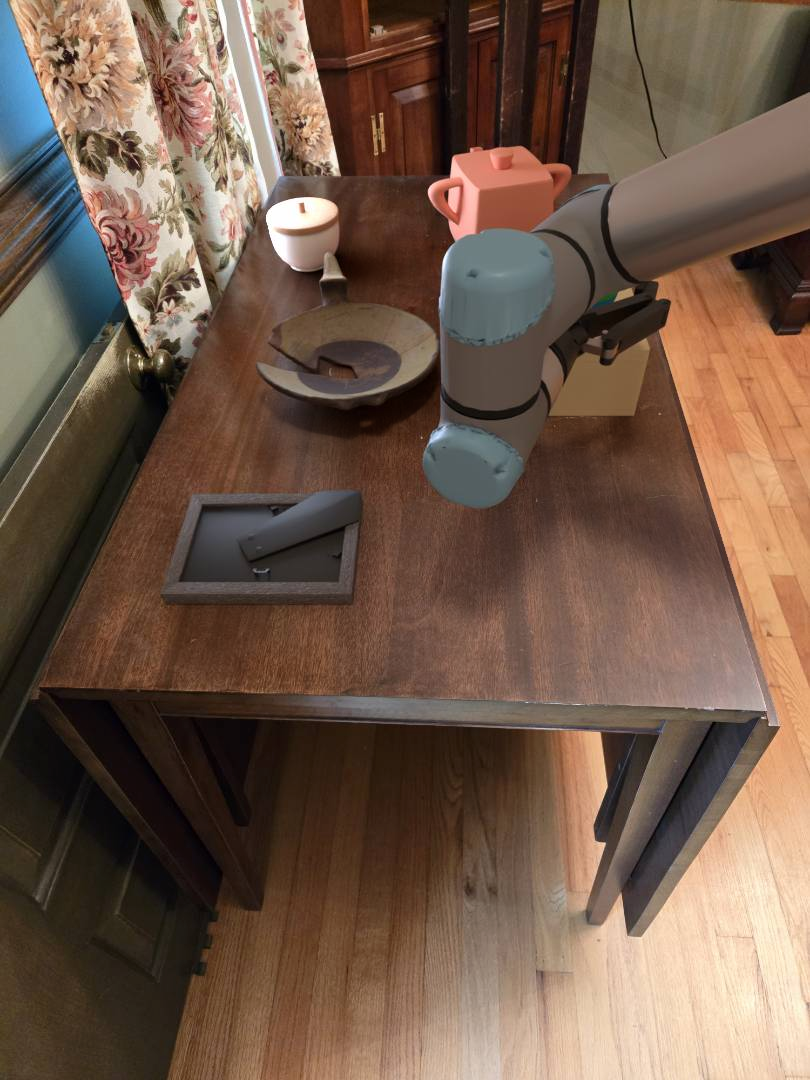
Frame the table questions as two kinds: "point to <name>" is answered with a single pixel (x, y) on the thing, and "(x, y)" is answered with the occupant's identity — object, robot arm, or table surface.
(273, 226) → the white lidded sugar bowl
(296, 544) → the picture frame
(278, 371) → the grey frying pan
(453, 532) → the table surface
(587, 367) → the tan cardboard box
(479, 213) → the pink ceramic boxy vessel
